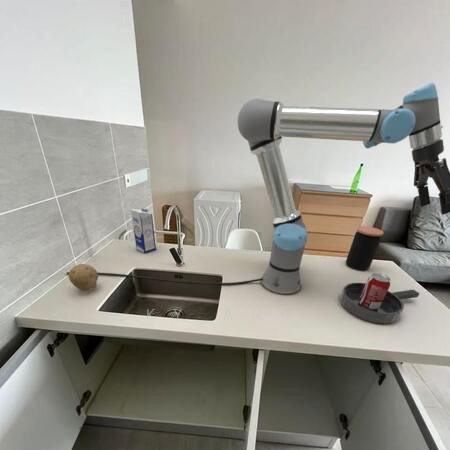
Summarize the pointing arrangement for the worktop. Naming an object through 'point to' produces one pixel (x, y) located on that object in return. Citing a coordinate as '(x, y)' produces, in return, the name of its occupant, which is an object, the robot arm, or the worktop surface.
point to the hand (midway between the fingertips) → (435, 208)
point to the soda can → (374, 291)
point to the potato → (83, 277)
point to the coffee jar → (363, 248)
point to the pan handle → (404, 294)
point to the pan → (383, 315)
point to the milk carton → (143, 230)
